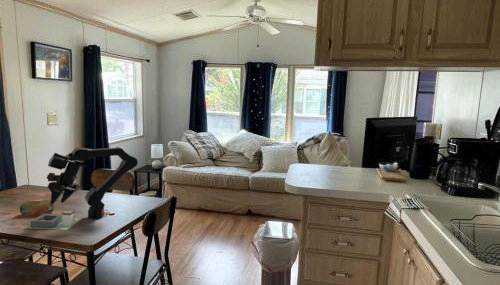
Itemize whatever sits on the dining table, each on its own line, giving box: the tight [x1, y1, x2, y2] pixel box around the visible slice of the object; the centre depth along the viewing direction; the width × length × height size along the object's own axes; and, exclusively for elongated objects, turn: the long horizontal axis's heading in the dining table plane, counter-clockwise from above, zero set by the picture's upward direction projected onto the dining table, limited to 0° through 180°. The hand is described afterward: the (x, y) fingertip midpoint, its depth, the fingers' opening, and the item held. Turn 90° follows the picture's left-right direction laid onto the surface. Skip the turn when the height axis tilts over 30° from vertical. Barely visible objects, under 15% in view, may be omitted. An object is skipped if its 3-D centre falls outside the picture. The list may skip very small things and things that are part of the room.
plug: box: [61, 209, 76, 225], centre depth 153 cm, size 4×4×6 cm
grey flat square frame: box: [30, 213, 62, 229], centre depth 151 cm, size 10×10×3 cm
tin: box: [19, 199, 55, 217], centre depth 162 cm, size 15×3×8 cm, turn 105°
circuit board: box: [27, 218, 82, 231], centre depth 153 cm, size 18×14×1 cm
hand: (57, 203), depth 151 cm, fingers open, 9 cm apart
